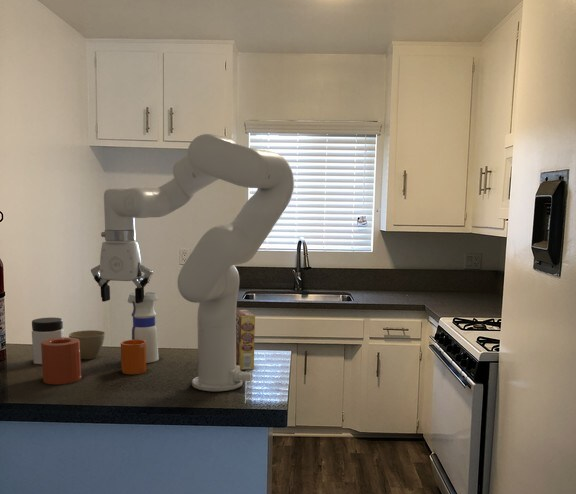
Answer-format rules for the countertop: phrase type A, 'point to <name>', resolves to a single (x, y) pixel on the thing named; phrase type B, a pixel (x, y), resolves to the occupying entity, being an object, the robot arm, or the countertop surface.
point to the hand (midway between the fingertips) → (122, 301)
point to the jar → (44, 334)
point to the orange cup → (133, 356)
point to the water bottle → (145, 324)
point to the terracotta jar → (61, 360)
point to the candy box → (245, 339)
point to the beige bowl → (89, 342)
